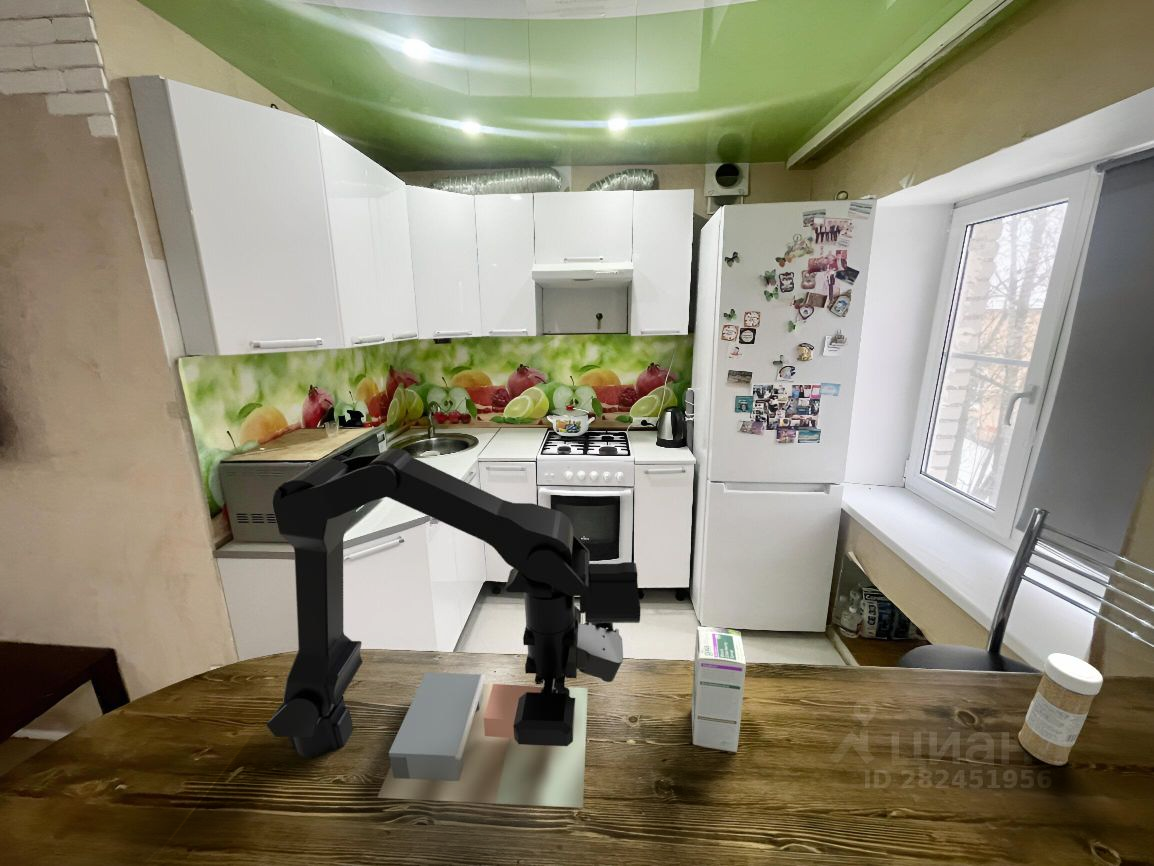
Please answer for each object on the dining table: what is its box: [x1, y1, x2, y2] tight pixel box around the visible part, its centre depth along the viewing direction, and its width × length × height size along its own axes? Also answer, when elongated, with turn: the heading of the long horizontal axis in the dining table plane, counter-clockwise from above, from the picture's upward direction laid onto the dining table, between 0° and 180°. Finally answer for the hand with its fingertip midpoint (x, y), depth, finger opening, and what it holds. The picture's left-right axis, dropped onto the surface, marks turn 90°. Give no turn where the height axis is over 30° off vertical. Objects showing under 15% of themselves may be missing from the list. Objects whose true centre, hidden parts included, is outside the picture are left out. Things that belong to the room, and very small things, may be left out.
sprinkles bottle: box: [1017, 652, 1104, 766], centre depth 55 cm, size 5×5×14 cm
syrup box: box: [691, 625, 747, 753], centre depth 59 cm, size 6×6×14 cm
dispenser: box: [388, 672, 487, 781], centre depth 59 cm, size 9×12×4 cm
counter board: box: [377, 683, 589, 809], centre depth 60 cm, size 24×16×1 cm, turn 87°
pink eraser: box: [484, 683, 555, 738], centre depth 58 cm, size 10×5×3 cm, turn 87°
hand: (554, 716), depth 58 cm, fingers closed on pink eraser, 5 cm apart
